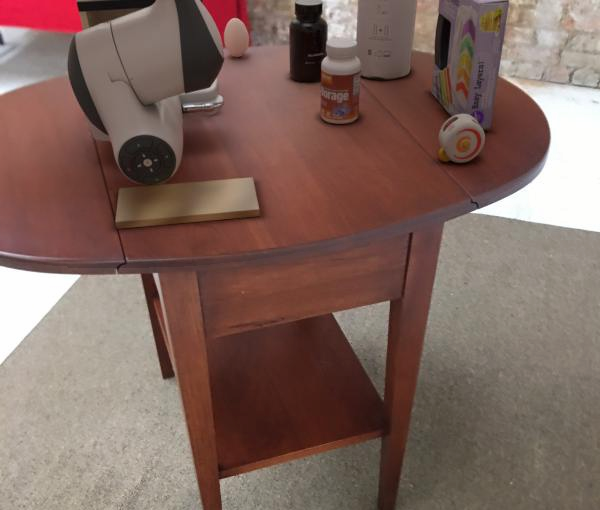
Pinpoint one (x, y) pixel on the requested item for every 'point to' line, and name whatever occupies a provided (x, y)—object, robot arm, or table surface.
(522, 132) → the table surface
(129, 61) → the robot arm
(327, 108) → the pill bottle
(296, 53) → the supplement bottle
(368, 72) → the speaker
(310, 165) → the table surface
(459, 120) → the roller toy
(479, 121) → the cake pan box
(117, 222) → the board
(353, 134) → the table surface
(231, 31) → the egg
